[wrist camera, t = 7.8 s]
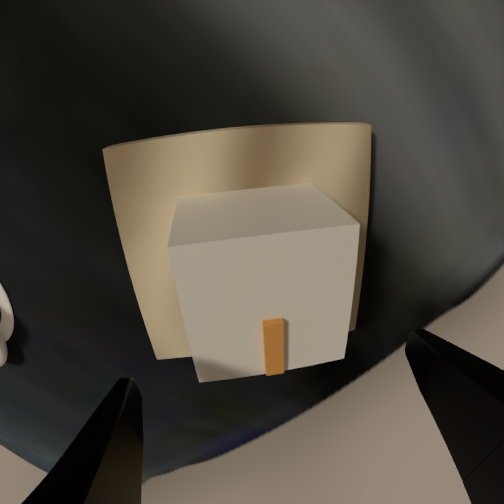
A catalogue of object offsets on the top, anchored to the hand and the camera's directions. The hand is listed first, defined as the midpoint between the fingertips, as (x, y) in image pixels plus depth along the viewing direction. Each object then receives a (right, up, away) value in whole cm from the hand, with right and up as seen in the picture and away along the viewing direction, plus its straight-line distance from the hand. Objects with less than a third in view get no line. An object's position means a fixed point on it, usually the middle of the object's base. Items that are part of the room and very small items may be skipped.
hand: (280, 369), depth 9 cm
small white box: (-1, +4, +6) cm, 7 cm away
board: (-1, +4, +7) cm, 8 cm away
